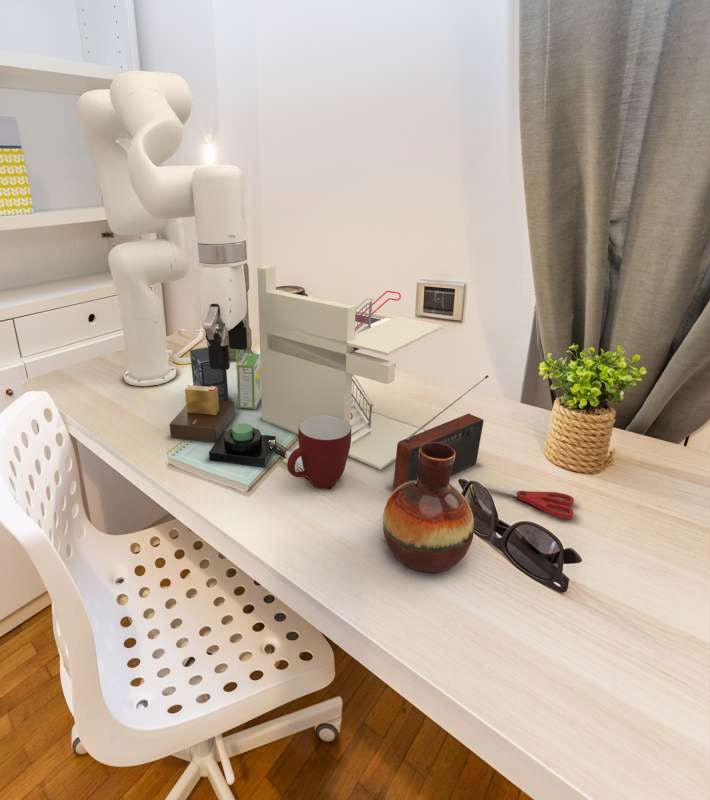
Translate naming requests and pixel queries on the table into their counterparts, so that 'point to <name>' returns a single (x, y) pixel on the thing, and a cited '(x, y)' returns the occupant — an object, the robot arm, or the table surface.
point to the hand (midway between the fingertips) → (229, 358)
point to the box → (208, 373)
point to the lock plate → (202, 423)
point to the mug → (322, 450)
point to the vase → (429, 515)
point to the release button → (242, 432)
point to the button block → (242, 449)
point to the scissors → (544, 501)
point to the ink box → (248, 379)
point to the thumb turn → (202, 399)
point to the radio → (454, 433)
